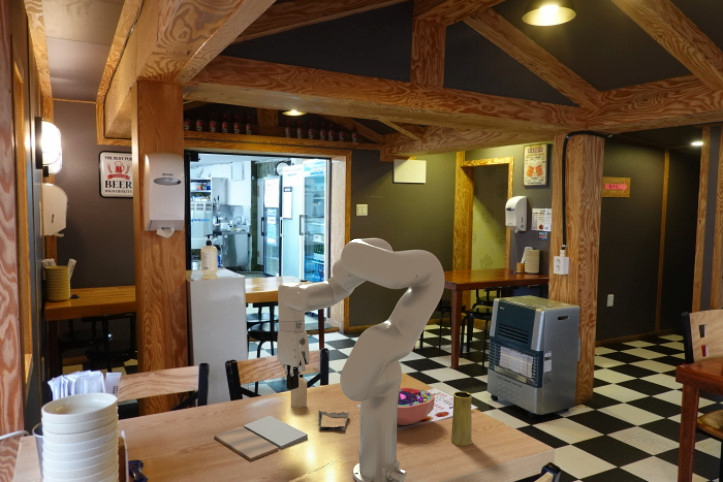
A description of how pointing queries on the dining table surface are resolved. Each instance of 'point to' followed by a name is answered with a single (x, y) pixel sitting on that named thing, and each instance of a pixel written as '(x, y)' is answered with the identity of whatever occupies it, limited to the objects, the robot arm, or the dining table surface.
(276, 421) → the grey flat slab
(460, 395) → the vase
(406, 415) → the cell model
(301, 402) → the beige bottle
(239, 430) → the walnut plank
